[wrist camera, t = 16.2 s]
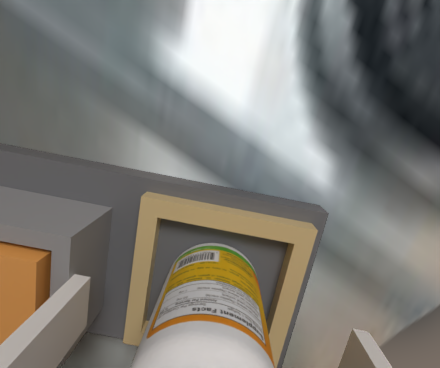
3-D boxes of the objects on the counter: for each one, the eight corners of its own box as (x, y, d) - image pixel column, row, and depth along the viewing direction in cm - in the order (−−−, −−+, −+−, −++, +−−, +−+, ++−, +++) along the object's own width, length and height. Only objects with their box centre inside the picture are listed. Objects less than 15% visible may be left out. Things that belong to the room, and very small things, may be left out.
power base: (-14, 294, 18) (-114, 365, 13) (-18, 140, 16) (-145, 148, 10) (277, 349, 18) (296, 441, 13) (319, 205, 16) (365, 246, 11)
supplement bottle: (226, 333, 16) (224, 614, 7) (153, 292, 16) (43, 535, 7) (275, 269, 15) (349, 501, 6) (197, 223, 15) (143, 395, 5)
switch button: (0, 285, 15) (-66, 332, 12) (-1, 212, 14) (-74, 241, 11) (77, 300, 15) (34, 351, 12) (83, 228, 14) (36, 262, 11)
